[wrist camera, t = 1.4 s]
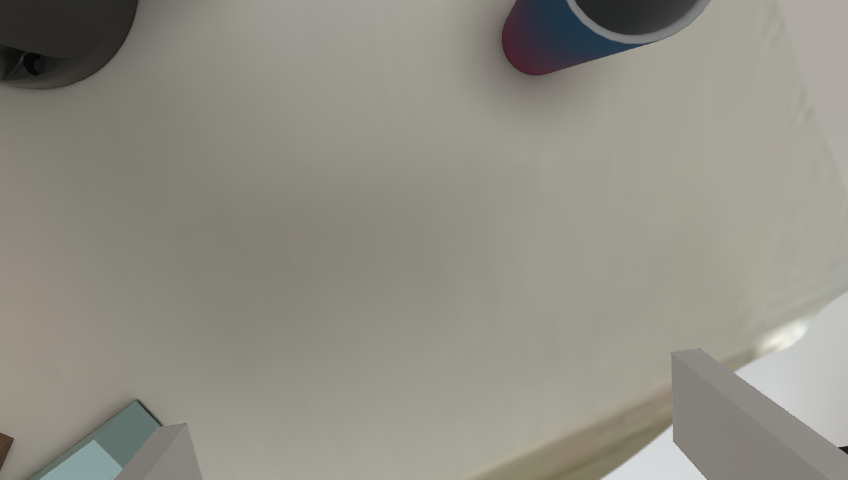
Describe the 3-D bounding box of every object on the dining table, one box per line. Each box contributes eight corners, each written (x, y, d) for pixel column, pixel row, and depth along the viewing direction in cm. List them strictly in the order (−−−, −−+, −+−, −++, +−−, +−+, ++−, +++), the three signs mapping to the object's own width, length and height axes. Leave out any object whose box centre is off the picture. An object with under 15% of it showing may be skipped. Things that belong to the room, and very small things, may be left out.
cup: (595, 72, 33) (743, 14, 19) (503, 100, 34) (577, 65, 19) (573, -29, 32) (714, -177, 17) (477, 1, 32) (536, -119, 17)
